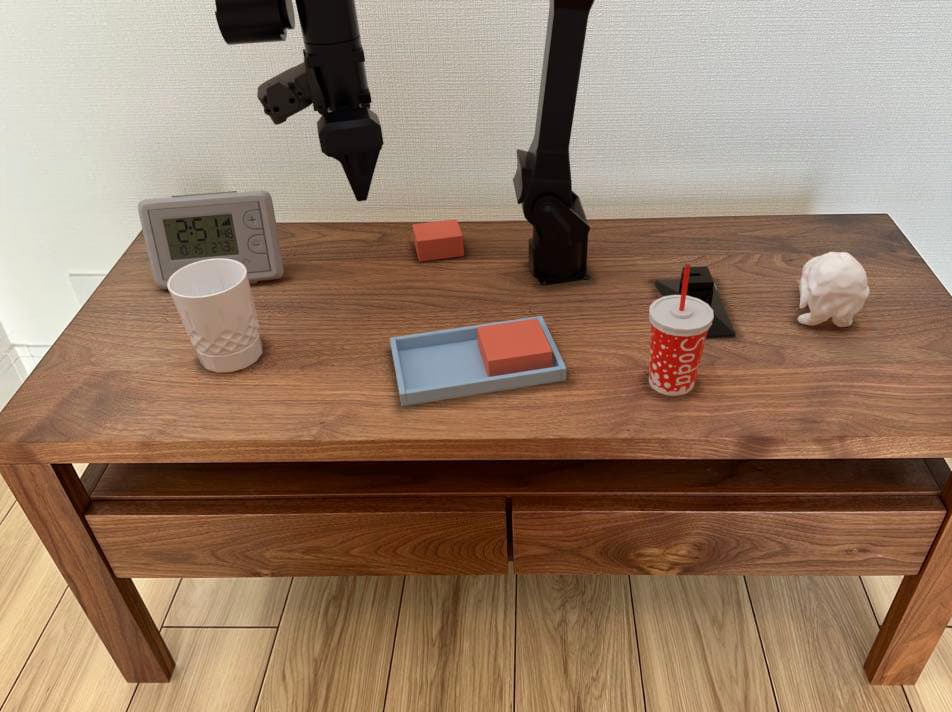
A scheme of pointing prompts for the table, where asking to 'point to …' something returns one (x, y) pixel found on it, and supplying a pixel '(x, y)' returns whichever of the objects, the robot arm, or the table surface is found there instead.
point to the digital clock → (212, 233)
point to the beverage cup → (677, 340)
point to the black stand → (701, 298)
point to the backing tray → (458, 366)
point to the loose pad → (438, 240)
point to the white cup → (218, 313)
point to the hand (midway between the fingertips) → (358, 183)
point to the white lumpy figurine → (832, 289)
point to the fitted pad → (514, 347)
